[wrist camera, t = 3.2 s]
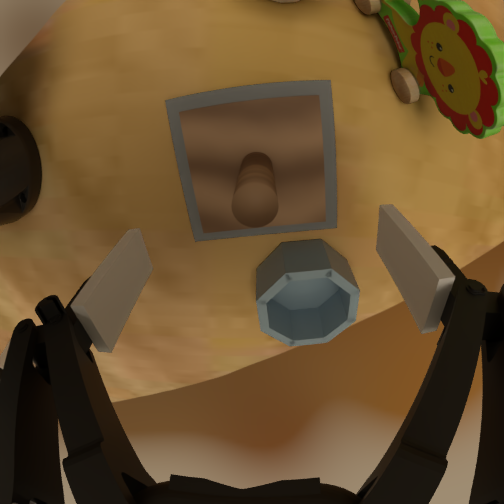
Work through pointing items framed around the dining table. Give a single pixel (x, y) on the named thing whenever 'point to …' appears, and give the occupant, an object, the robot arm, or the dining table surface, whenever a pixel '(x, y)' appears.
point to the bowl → (305, 293)
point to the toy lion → (447, 60)
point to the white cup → (285, 1)
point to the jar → (1, 359)
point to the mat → (255, 93)
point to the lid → (256, 162)
